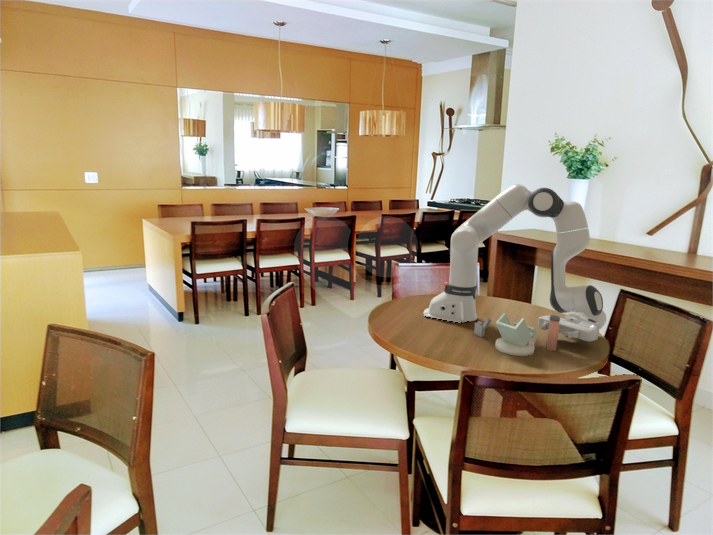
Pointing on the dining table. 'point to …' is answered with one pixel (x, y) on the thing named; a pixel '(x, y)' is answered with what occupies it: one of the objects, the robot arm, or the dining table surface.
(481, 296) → the dining table surface
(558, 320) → the marker
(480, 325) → the lighter
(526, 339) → the green holder stand
